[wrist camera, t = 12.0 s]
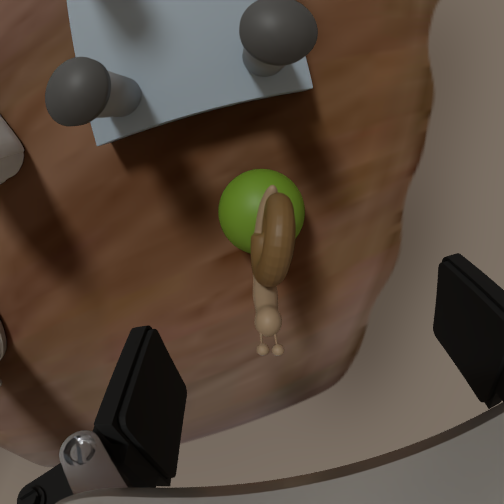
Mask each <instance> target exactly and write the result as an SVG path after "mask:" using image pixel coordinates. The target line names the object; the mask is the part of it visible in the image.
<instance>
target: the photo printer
mask: <svg viewBox="0 0 504 504" xmlns="http://www.w3.org/2000/svg"><path fill="white" fill-rule="evenodd" d="M23 152H24V148H23V146H22V144H21V142H20V141H19V139H18V138H17V136H16V135H15V134H14V132H13V131H12V130H11V128H10V127H9V126H8V124H7V123H6V122H5V121H4V119H3V118H2V117H1V115H0V184H2V183H4V182H5V181H6V179H8V178H10V177H12V176H14V175H15V174H16V173H17V172H18V171H19V169H20V168H21V165H22V163H23V158H24V153H23Z"/></svg>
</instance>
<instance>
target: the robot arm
mask: <svg viewBox="0 0 504 504" xmlns="http://www.w3.org/2000/svg"><path fill="white" fill-rule="evenodd" d="M433 331H434V334H435V336H436V338H437V339H438V341H439V342H440V343H441V345H442V346H443V347H444V349H445V350H446V352H447V353H448V354H449V356H450V357H451V359H452V360H453V362H454V363H455V365H456V366H457V367H458V369H459V370H460V372H461V373H462V375H463V376H464V378H465V379H466V381H467V382H468V384H469V385H470V387H471V388H472V390H473V391H474V393H475V394H476V396H477V397H478V399H479V400H480V401H481V402H485V404H486V405H487V407H488V408H489V409H490V408H491V407H493V406H495V405H497V404H499V403H500V402H501V401H503V403H501V404H499V405H497V406H495V407H493V408H491V409H490V410H488V411H486V412H484V413H482V414H480V415H478V416H476V417H474V418H472V419H470V420H468V421H466V422H464V423H462V424H460V425H458V426H455V427H453V428H451V429H449V430H447V431H444V432H442V433H440V434H437V435H435V436H432V437H430V438H428V439H425V440H422V441H420V442H417V443H415V444H412V445H409V446H406V447H404V448H401V449H398V450H395V451H392V452H389V453H386V454H383V455H380V456H377V457H374V458H370V459H367V460H364V461H360V462H356V463H353V464H349V465H345V466H341V467H337V468H333V469H329V470H325V471H320V472H315V473H311V474H306V475H300V476H295V477H290V478H283V479H277V480H271V481H263V482H256V483H247V484H237V485H226V486H209V487H189V488H188V487H187V488H156V486H170V483H171V478H173V477H175V475H176V470H177V462H178V454H179V447H180V439H181V432H182V425H183V418H184V411H185V404H186V397H187V390H186V386H185V384H184V382H183V380H182V378H181V376H180V374H179V372H178V370H177V369H176V367H175V365H174V363H173V361H172V359H171V357H170V355H169V353H168V351H167V349H166V347H165V345H164V343H163V341H162V339H161V337H160V335H159V333H158V331H157V330H156V329H152V328H151V327H150V326H142V327H136V328H132V330H131V331H130V334H129V336H128V338H127V341H126V343H125V346H124V348H123V350H122V353H121V355H120V358H119V360H118V362H117V365H116V367H115V370H114V372H113V375H112V377H111V380H110V382H109V385H108V387H107V390H106V393H105V395H104V398H103V400H102V403H101V406H100V408H99V411H98V414H97V417H96V419H95V422H94V425H95V426H94V429H93V432H92V431H87V430H83V431H78V432H76V433H73V434H72V435H70V436H69V437H68V438H67V439H66V440H65V441H64V442H63V444H62V446H61V448H60V453H59V457H60V462H61V463H60V464H58V465H57V466H55V467H54V468H52V469H51V470H49V471H48V472H46V473H45V474H43V475H42V476H40V477H38V478H37V479H35V480H34V481H32V482H31V483H29V484H27V485H26V486H25V487H24V488H23V489H22V490H21V491H20V493H19V495H18V498H17V504H504V290H503V289H502V288H501V287H499V286H498V285H497V284H496V283H495V282H494V281H492V280H491V279H490V278H489V277H488V276H487V275H485V274H484V273H483V272H482V271H481V270H479V269H478V268H477V267H476V266H475V265H473V264H472V263H471V262H470V261H468V260H467V259H466V258H465V257H463V256H462V255H461V254H459V253H457V254H454V255H450V256H447V257H444V258H443V260H442V263H440V264H439V267H438V283H437V296H436V307H435V316H434V324H433ZM6 343H7V342H6V336H5V332H4V329H3V325H2V323H1V321H0V360H1V359H2V357H3V356H4V354H5V351H6ZM1 385H2V380H1V379H0V386H1Z"/></svg>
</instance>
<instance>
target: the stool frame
mask: <svg viewBox="0 0 504 504" xmlns="http://www.w3.org/2000/svg"><path fill="white" fill-rule="evenodd" d="M67 6H68V13H69V20H70V27H71V33H72V39H73V45H74V50H75V56H76V57H75V58H72V59H69V60H67V61H65V62H64V63H62V64H61V65H60V66H59V67H58V68H57V69H56V70H55V71H54V73H53V74H52V76H51V77H50V79H49V82H48V84H47V88H46V93H45V102H46V107H47V110H48V112H49V114H50V116H51V117H52V118H53V119H54V120H55V121H56V122H57V123H59V124H61V125H64V126H79V125H84V124H87V123H89V122H91V126H92V130H93V133H94V137H95V141H96V144H97V146H100V145H104V144H108V143H111V142H114V141H117V140H119V139H122V138H125V137H127V136H130V135H133V134H136V133H139V132H142V131H145V130H148V129H151V128H154V127H157V126H160V125H163V124H166V123H169V122H173V121H176V120H179V119H183V118H186V117H190V116H193V115H197V114H200V113H204V112H208V111H212V110H215V109H219V108H223V107H227V106H232V105H236V104H240V103H244V102H249V101H254V100H258V99H263V98H268V97H273V96H278V95H284V94H289V93H295V92H301V91H306V90H309V89H311V88H313V85H312V81H311V76H310V72H309V68H308V64H307V60H306V55H307V54H308V53H309V52H310V51H311V50H312V49H313V47H314V45H315V43H316V40H317V34H318V30H317V24H316V21H315V19H314V17H313V15H312V14H311V13H310V11H309V10H308V9H307V8H306V7H305V6H303V5H302V4H300V3H299V2H297V1H295V0H67Z"/></svg>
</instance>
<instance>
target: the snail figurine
mask: <svg viewBox="0 0 504 504" xmlns="http://www.w3.org/2000/svg"><path fill="white" fill-rule="evenodd" d="M218 213H219V221H220V225H221V228H222V230H223V232H224V234H225V235H226V237H227V238H228V239H229V241H230V242H231V243H232V244H234V245H235V246H236V247H237V248H239V249H241V250H243V251H245V252H247V253H251V265H252V271H253V300H254V306H255V311H256V315H255V327H256V330H257V331H258V332H259V333H260V340H261V344H260V345H259V346H258V347H257V353H258V354H259V355H262V356H264V355H267V354H268V353H269V347H268V346H267V345H266V344H263V342H262V336H265V337H271V336H273V335H274V337H275V343H276V345H274V346H273V347H272V353H273V354H274V355H276V356H281V355H282V354H283V353H284V347H283V346H282V345H280V344H278V343H277V337H276V334H277V332H278V331H279V330H280V328H281V325H282V318H281V315H280V313H279V311H278V294H277V287H276V286H277V285H278V284H280V283H281V282H282V281H283V280H284V278H285V276H286V275H287V272H288V269H289V266H290V263H291V260H292V257H293V252H294V246H295V239H296V237H297V236H298V234H299V233H300V231H301V228H302V226H303V222H304V217H305V207H304V202H303V198H302V196H301V193H300V191H299V190H298V188H297V187H296V185H295V184H294V183H293V182H292V181H291V180H290V179H289V178H287V177H286V176H284V175H283V174H281V173H279V172H276V171H273V170H268V169H255V170H250V171H247V172H244V173H242V174H240V175H239V176H237V177H236V178H234V179H233V180H232V181H231V182H230V183H229V184H228V186H227V187H226V188H225V190H224V192H223V194H222V196H221V199H220V203H219V211H218Z"/></svg>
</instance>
